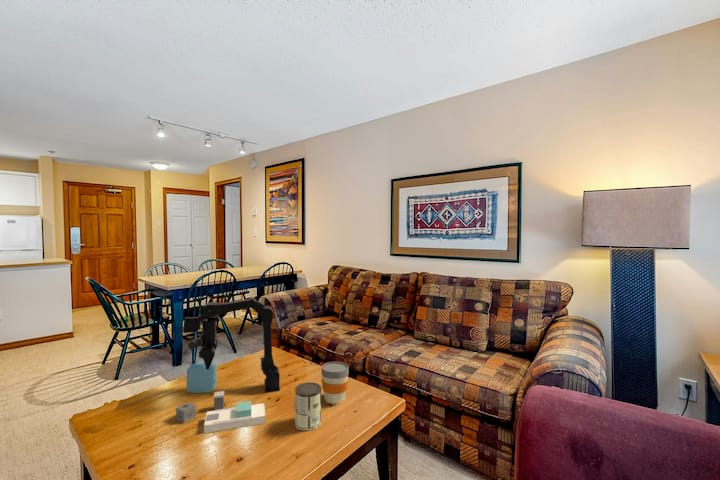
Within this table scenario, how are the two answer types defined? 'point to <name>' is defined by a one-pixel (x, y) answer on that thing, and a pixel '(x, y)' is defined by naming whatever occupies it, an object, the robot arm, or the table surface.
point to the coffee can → (307, 406)
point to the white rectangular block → (219, 400)
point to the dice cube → (185, 412)
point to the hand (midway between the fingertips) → (208, 365)
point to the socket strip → (233, 418)
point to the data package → (201, 378)
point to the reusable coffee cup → (334, 381)
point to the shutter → (243, 409)
